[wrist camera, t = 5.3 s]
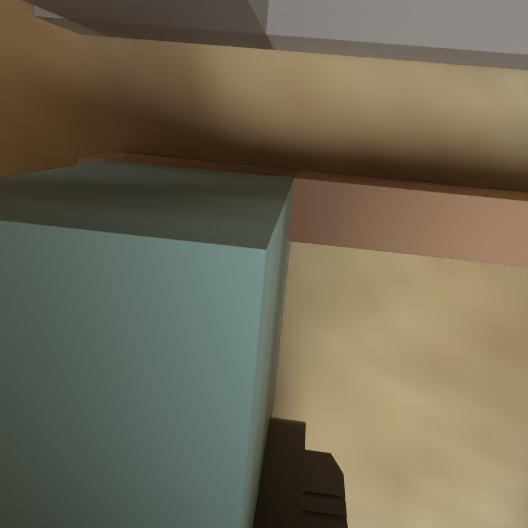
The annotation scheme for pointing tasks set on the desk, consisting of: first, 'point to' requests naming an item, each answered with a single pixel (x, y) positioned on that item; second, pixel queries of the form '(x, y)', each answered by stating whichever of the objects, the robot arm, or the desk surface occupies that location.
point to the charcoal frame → (316, 26)
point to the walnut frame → (178, 322)
